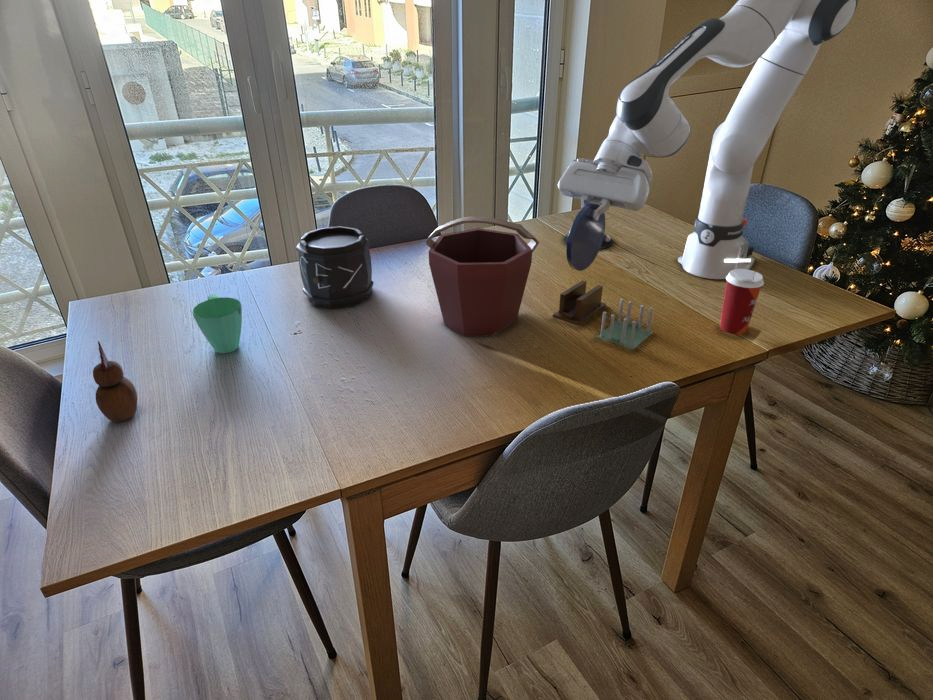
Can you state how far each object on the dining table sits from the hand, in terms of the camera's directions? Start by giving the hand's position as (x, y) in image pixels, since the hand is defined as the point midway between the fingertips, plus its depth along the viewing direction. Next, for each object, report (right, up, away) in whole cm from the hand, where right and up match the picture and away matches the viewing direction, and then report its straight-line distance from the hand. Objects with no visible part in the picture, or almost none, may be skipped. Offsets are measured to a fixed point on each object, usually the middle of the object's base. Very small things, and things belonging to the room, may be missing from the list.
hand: (587, 217), depth 134 cm
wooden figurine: (-90, -42, -20) cm, 102 cm away
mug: (-81, -28, +3) cm, 85 cm away
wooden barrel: (-60, -15, +23) cm, 66 cm away
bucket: (-23, -22, +11) cm, 34 cm away
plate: (0, -10, +7) cm, 12 cm away
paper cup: (+34, -25, +5) cm, 42 cm away
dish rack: (+9, -26, +3) cm, 28 cm away
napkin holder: (+1, -21, +13) cm, 24 cm away
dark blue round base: (+11, +4, +55) cm, 56 cm away
